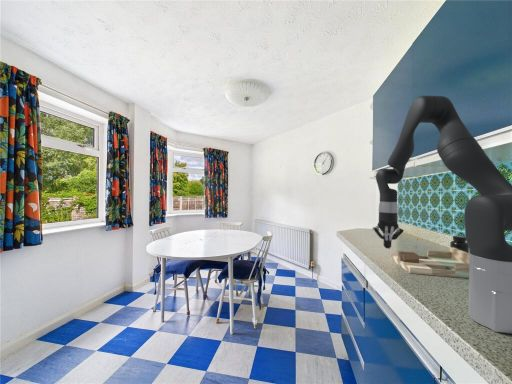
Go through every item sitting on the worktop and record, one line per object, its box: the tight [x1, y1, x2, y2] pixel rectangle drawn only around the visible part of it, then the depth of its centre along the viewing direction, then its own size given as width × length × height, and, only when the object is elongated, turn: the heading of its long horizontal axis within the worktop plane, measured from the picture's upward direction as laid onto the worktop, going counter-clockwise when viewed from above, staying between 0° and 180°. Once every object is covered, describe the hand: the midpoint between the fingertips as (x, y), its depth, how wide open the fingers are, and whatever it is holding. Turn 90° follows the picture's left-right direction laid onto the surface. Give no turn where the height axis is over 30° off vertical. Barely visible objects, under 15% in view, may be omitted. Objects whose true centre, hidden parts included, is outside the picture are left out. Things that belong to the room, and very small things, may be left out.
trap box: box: [390, 246, 469, 279], centre depth 95 cm, size 20×27×8 cm
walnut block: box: [397, 250, 420, 263], centre depth 97 cm, size 6×6×4 cm
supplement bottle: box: [449, 235, 469, 253], centre depth 106 cm, size 7×7×12 cm
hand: (387, 248), depth 99 cm, fingers closed
